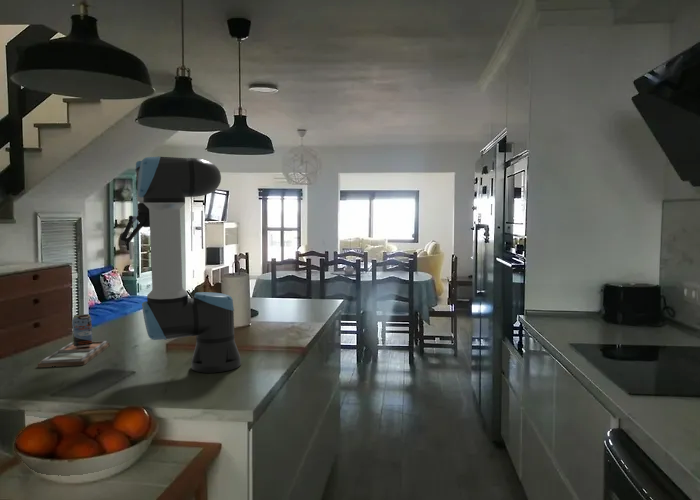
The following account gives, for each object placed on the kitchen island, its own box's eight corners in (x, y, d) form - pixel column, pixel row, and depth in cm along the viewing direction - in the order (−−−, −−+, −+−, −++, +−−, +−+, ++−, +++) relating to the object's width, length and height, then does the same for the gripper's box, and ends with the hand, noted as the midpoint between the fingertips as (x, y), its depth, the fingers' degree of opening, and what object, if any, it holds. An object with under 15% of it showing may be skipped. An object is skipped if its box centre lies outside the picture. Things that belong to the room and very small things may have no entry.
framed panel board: (84, 365, 172) (83, 358, 172) (37, 367, 170) (37, 361, 170) (109, 345, 197) (109, 340, 197) (69, 347, 196) (69, 342, 196)
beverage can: (76, 350, 185) (74, 316, 185) (71, 346, 191) (69, 313, 190) (95, 347, 189) (93, 314, 189) (90, 344, 195) (88, 311, 194)
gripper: (184, 202, 205) (186, 257, 207) (116, 203, 202) (119, 258, 203) (180, 201, 198) (182, 258, 199) (110, 202, 195) (112, 260, 196)
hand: (150, 258), depth 201 cm, fingers open, 13 cm apart
